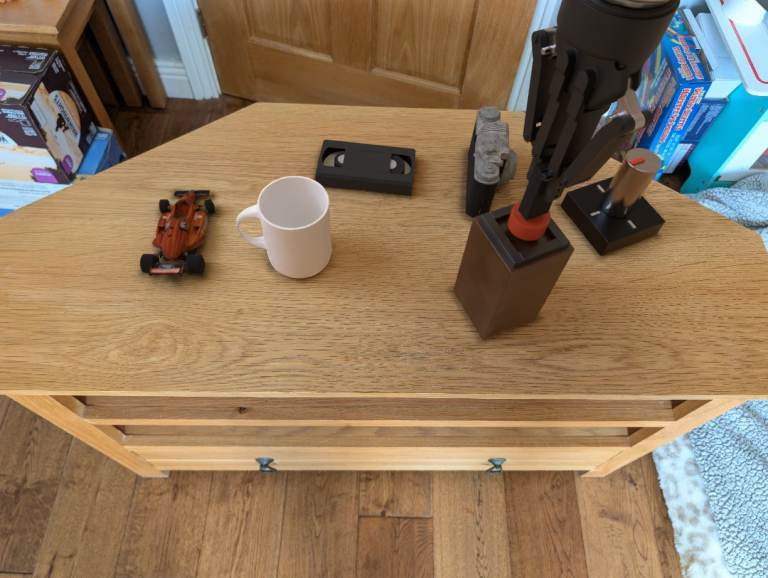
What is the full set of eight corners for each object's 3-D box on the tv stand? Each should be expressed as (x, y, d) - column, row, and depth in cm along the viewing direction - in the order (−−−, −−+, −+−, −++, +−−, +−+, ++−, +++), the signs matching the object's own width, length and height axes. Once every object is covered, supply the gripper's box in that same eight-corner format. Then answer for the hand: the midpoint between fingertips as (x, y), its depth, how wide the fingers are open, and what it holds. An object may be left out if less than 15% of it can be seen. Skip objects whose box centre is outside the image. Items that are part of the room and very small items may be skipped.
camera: (509, 223, 80) (527, 174, 72) (463, 218, 81) (475, 168, 72) (508, 152, 88) (525, 100, 80) (466, 147, 89) (478, 95, 80)
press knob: (552, 234, 59) (558, 221, 57) (520, 245, 58) (525, 233, 56) (532, 207, 61) (537, 194, 59) (500, 218, 60) (504, 205, 58)
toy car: (221, 193, 81) (214, 171, 77) (201, 288, 72) (193, 269, 68) (166, 191, 81) (157, 170, 77) (140, 287, 72) (128, 267, 68)
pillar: (536, 318, 72) (577, 244, 59) (482, 340, 70) (513, 268, 57) (504, 271, 76) (536, 191, 63) (452, 290, 74) (474, 212, 60)
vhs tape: (414, 158, 87) (416, 148, 85) (411, 196, 82) (412, 186, 81) (324, 148, 87) (323, 138, 85) (315, 185, 83) (315, 176, 81)
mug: (248, 226, 78) (235, 171, 69) (334, 231, 78) (332, 177, 69) (238, 277, 73) (222, 226, 64) (329, 282, 74) (326, 231, 65)
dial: (618, 191, 81) (647, 142, 73) (637, 212, 79) (669, 164, 71) (594, 199, 80) (620, 151, 72) (612, 222, 78) (642, 174, 70)
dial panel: (656, 234, 81) (666, 220, 78) (600, 256, 78) (609, 242, 75) (614, 187, 85) (622, 172, 83) (560, 205, 83) (567, 191, 80)
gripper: (528, -58, 40) (470, 178, 59) (645, 46, 33) (536, 271, 53) (613, -74, 42) (529, 159, 61) (739, 21, 35) (600, 247, 55)
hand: (532, 211), depth 57 cm, fingers closed
